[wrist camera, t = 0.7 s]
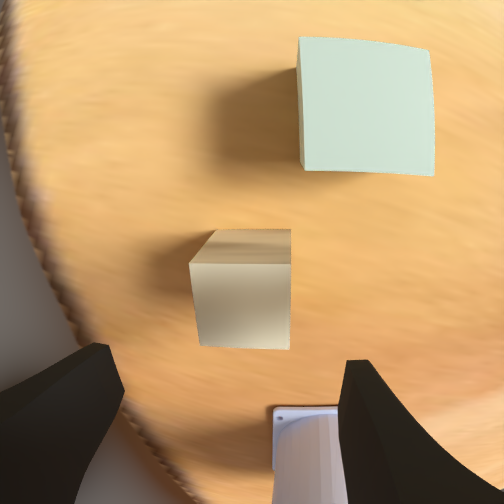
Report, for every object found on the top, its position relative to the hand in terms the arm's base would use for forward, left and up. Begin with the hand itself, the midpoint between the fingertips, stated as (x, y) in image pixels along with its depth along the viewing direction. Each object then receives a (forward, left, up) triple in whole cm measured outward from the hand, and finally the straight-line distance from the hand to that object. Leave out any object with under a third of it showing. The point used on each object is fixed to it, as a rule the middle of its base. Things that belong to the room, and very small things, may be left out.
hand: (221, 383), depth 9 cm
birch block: (0, 0, -10) cm, 10 cm away
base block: (+8, -5, -10) cm, 13 cm away
